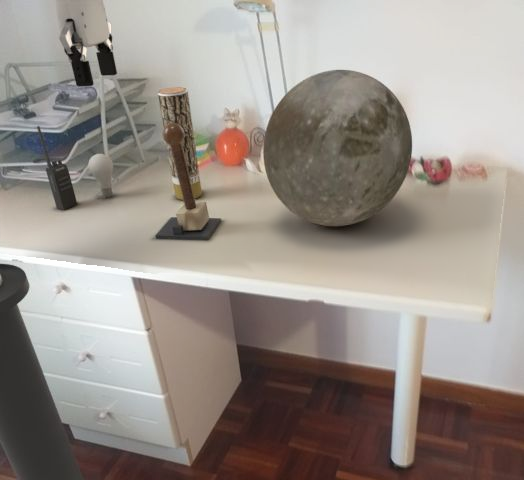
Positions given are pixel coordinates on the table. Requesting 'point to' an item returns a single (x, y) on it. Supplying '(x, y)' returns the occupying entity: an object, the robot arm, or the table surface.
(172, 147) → the mallet
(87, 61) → the robot arm
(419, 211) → the table surface
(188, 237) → the stand
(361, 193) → the globe
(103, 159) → the lightbulb
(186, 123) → the paper tube
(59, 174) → the walkie-talkie
